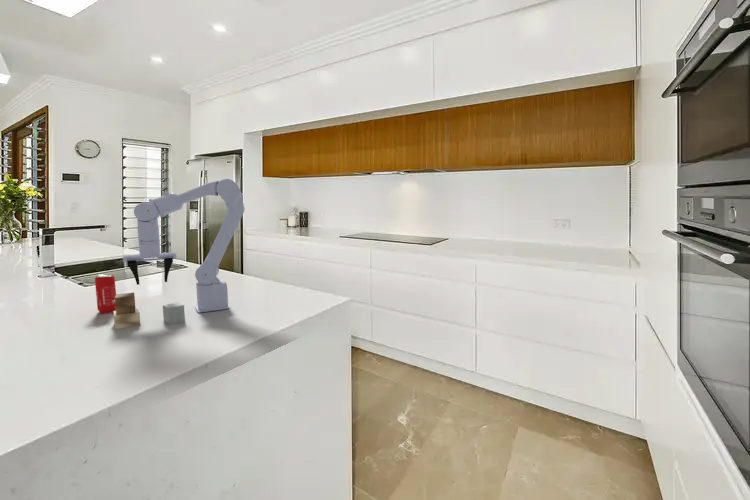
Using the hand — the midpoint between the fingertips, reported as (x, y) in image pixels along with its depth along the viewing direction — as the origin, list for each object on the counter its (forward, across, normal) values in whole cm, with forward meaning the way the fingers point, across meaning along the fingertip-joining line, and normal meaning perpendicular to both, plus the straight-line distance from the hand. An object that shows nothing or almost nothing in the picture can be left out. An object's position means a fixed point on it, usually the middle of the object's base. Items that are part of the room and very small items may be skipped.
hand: (152, 282), depth 120 cm
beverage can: (+10, +13, -9) cm, 19 cm away
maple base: (+10, +7, +9) cm, 15 cm away
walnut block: (+6, +7, +9) cm, 13 cm away
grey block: (+10, -5, +12) cm, 17 cm away
